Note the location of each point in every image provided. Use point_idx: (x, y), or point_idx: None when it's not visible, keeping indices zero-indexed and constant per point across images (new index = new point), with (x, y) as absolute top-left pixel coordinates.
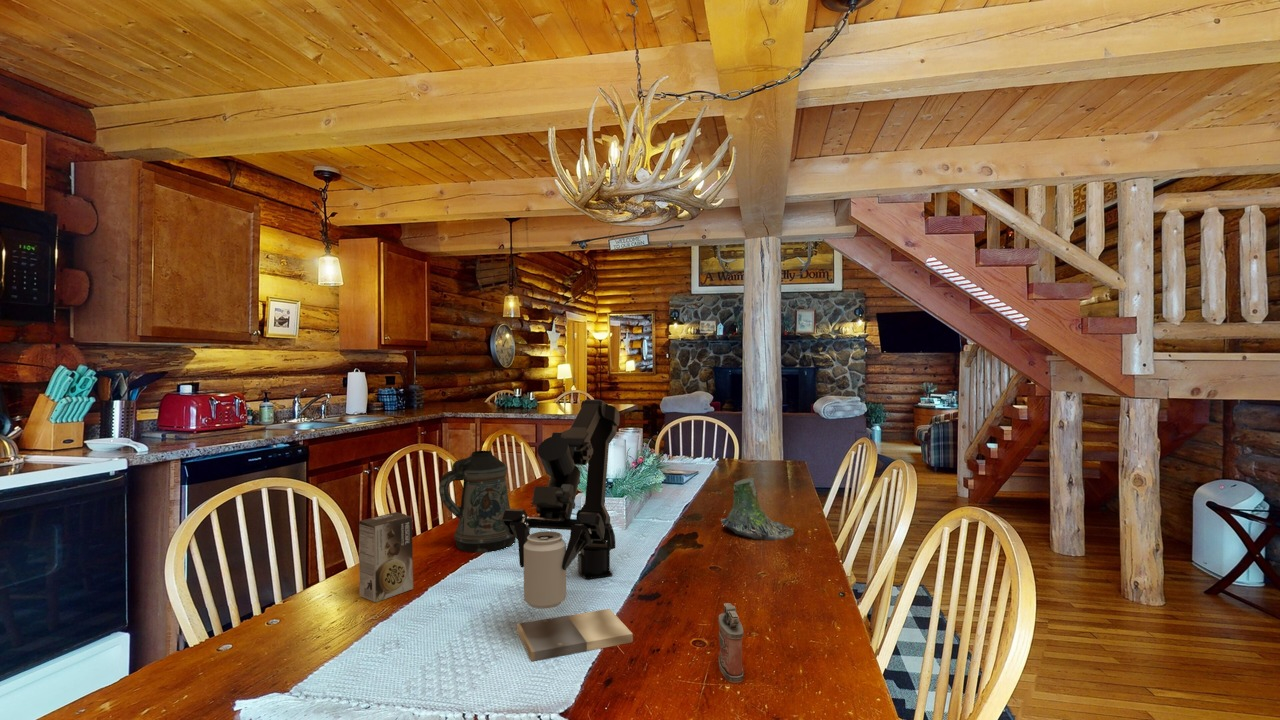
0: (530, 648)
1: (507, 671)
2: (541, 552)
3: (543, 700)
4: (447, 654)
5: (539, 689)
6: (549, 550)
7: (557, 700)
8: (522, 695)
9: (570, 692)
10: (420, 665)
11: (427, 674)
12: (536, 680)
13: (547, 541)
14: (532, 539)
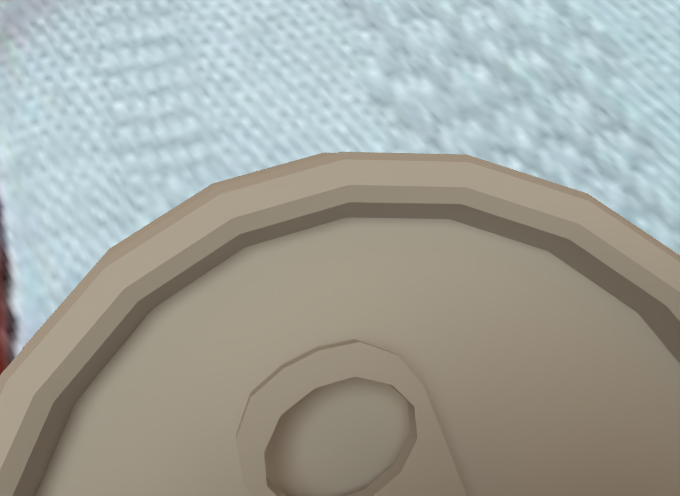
0: None
1: (310, 130)
2: (229, 182)
3: (80, 22)
4: (606, 149)
5: (128, 72)
6: (107, 253)
7: (33, 38)
8: (165, 22)
9: (9, 95)
10: (625, 51)
11: (553, 14)
12: (170, 117)
13: (121, 248)
14: (633, 405)
